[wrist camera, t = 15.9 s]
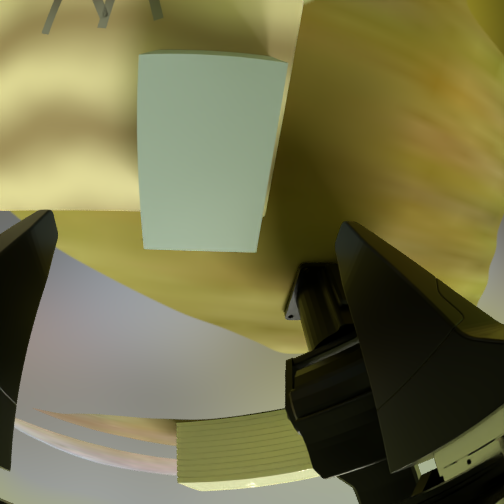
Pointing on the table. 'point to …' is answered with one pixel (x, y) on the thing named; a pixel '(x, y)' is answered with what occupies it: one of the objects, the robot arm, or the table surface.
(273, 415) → the stack of papers
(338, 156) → the table surface
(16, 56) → the maple board
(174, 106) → the block
